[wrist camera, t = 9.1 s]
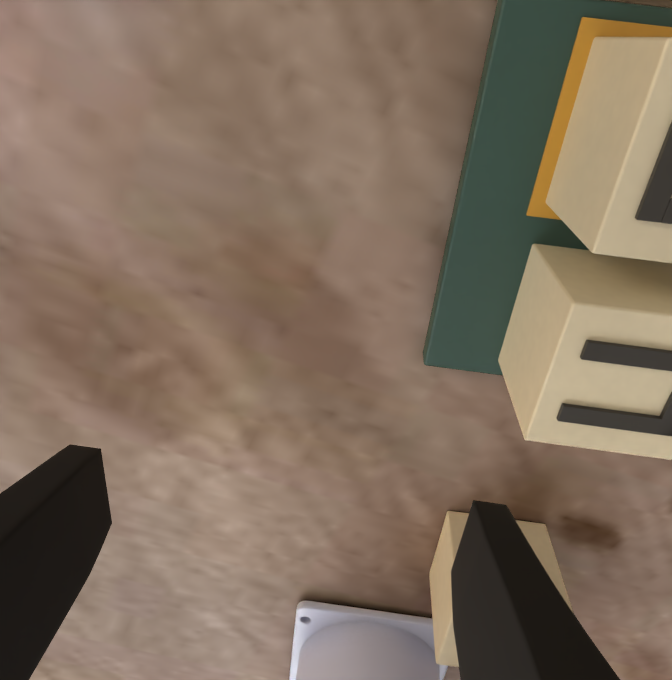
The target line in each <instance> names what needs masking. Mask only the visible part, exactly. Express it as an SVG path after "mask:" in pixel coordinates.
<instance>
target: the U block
mask: <svg viewBox="0 0 672 680" xmlns="http://www.w3.org/2000/svg"><path fill="white" fill-rule="evenodd" d="M498 362H499V365H500V368H501V371H502V374H503V377H504V380H505V383H506V386H507V389H508V392H509V395H510V398H511V401H512V404H513V407H514V410H515V413H516V416H517V419H518V422H519V425H520V428H521V431H522V434H523V437H524V439H525V440H527V441H535V442H542V443H549V444H557V445H564V446H572V447H579V448H586V449H594V450H601V451H609V452H616V453H623V454H631V455H638V456H645V457H653V458H660V459H668V460H672V263H665V262H657V261H649V260H641V259H633V258H625V257H617V256H609V255H601V254H594V253H592V252H591V251H590V250H582V249H574V248H566V247H558V246H550V245H542V244H533V245H532V247H531V250H530V254H529V257H528V260H527V264H526V267H525V271H524V274H523V277H522V281H521V284H520V287H519V291H518V294H517V298H516V301H515V304H514V308H513V311H512V314H511V318H510V321H509V325H508V328H507V331H506V335H505V338H504V342H503V345H502V348H501V352H500V355H499V358H498Z"/></svg>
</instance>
